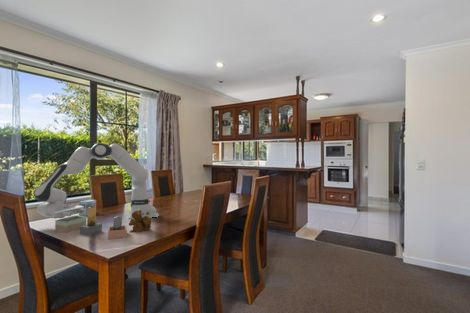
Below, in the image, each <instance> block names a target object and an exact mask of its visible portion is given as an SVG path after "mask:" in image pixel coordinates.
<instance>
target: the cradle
mask: <svg viewBox="0 0 470 313" xmlns="http://www.w3.org/2000/svg"><path fill="white" fill-rule="evenodd" d="M102 228H103V224H102V223H97V222H96V225H95V226H87V224H86V225H84V226H81V227H80V229H79V235H84V236H92V235H95V234H97V233H101V232H102V230H103V229H102Z"/></svg>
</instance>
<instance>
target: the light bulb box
mask: <svg viewBox="0 0 470 313" xmlns="http://www.w3.org/2000/svg"><path fill="white" fill-rule="evenodd" d="M78 205H80V206H84V207H85V212H84V213H78V216H85V217H87V216H88V207H91V206H94V207H96V208H97V199H86V200H85V199H84V200H81V201H79V202H78Z"/></svg>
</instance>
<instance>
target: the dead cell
mask: <svg viewBox="0 0 470 313" xmlns="http://www.w3.org/2000/svg"><path fill="white" fill-rule="evenodd" d="M122 219H123V217H122V216H121V215H116V216H114V217H113V223H112V224H113V225H112V227H113V231H114V230H121V227H122V226H123V224H122V221H123V220H122Z"/></svg>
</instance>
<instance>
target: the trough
mask: <svg viewBox="0 0 470 313" xmlns="http://www.w3.org/2000/svg"><path fill="white" fill-rule="evenodd" d="M54 223H55V224H54V231H55V232H59V233H67V234H68V233H70V232H73V231H76V230H80V227H81V226H84V225H87V216H84V215H73V216H72V215H71V216H66V217H64V218H58V219H56V220H55V222H54Z"/></svg>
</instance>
